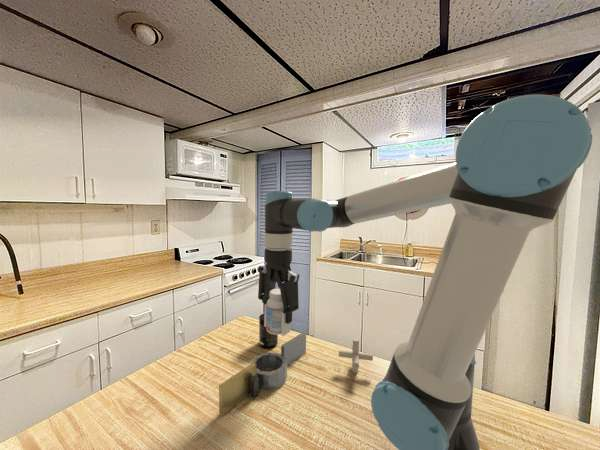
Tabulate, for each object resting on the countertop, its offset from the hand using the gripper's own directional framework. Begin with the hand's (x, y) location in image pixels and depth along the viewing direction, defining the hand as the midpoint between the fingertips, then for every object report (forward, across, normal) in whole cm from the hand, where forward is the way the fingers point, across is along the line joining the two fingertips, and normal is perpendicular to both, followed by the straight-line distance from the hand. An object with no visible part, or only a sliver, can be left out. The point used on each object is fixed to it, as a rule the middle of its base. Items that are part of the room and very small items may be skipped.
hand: (276, 328), depth 70 cm
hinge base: (+16, +3, -4) cm, 17 cm away
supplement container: (+16, +16, -12) cm, 26 cm away
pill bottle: (+1, 0, 0) cm, 1 cm away
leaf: (+15, +2, +11) cm, 19 cm away
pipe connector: (+16, -15, -19) cm, 29 cm away
